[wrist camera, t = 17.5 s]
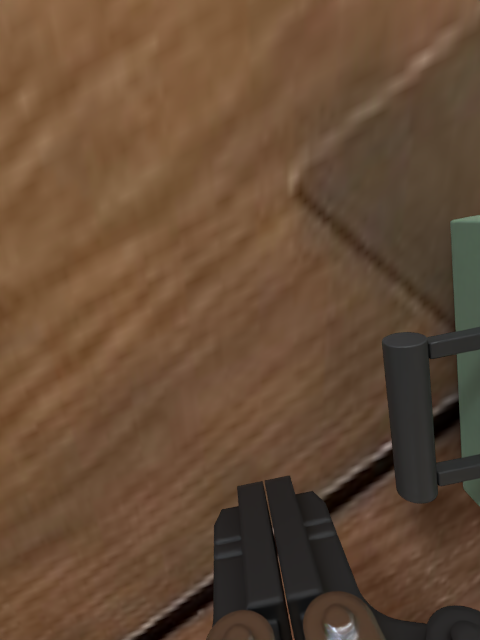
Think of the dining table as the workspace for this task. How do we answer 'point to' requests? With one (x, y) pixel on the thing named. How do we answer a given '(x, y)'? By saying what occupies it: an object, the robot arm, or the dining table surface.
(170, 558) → the dining table surface
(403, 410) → the drawer
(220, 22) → the dining table surface
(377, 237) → the dining table surface
